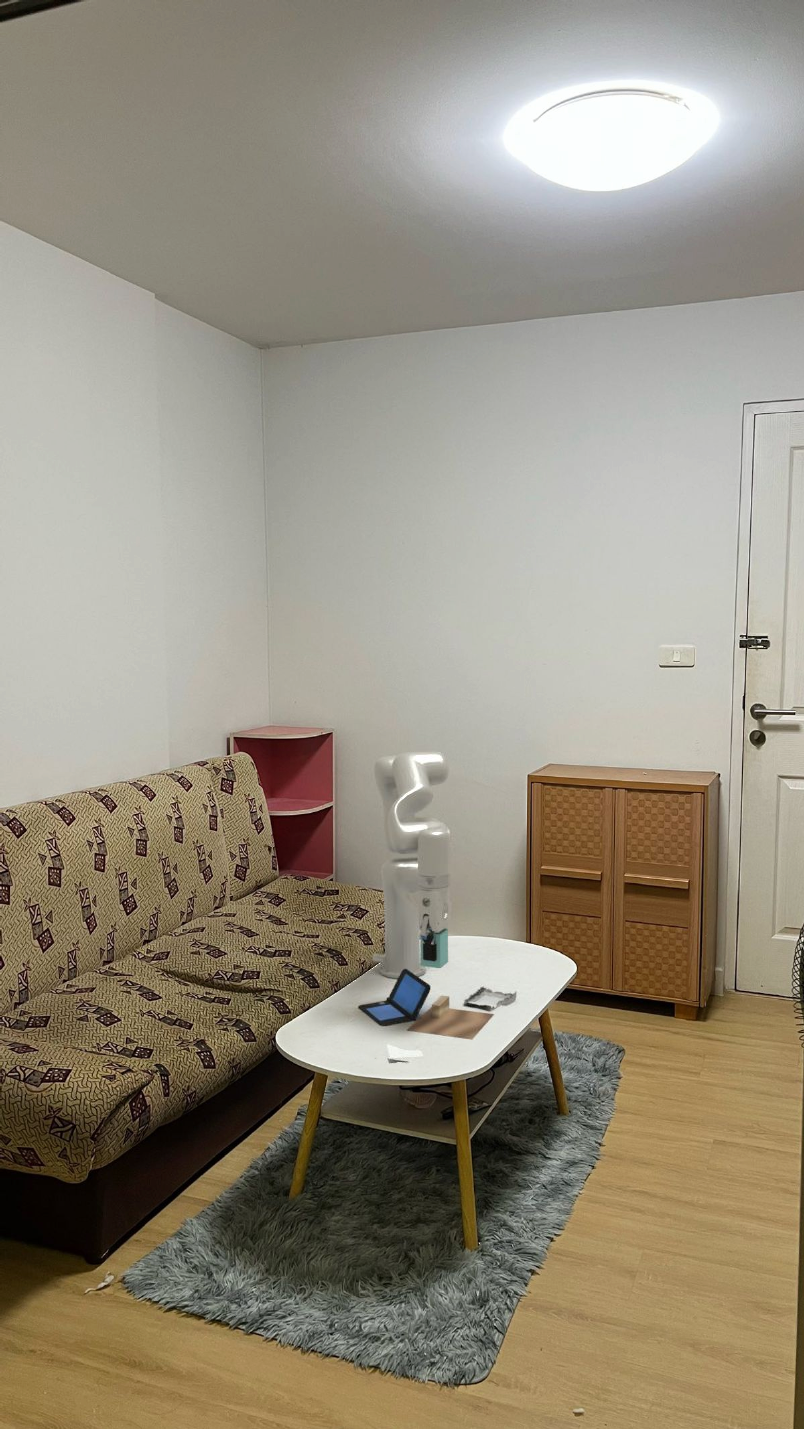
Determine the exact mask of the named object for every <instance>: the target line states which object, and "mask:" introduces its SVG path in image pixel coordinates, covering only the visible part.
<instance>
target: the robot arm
mask: <svg viewBox="0 0 804 1429" xmlns="http://www.w3.org/2000/svg"><path fill="white" fill-rule="evenodd" d="M449 769H450V768H449V764H448V760H447V758H446V756H445V755H444V753H442V752H440V751H434V750H433V751H432V750H431V751H428V750H427V751H407V752H402V753H400V754H397V755H396V754H395V755H387V756H386V755H385V756H382V757H380V758H378V759H376V762H375V764H374V772H373V773H374V780H375V784H376V787H377V790H378V791H379V795H380V797H381V801H382V805H383V806H382V807H383V832H384V843H385V847H386V849H387V850H388V851H389V852H390V853H391V852H392V853H396V854H400V855H416V854H417V857H416V856H415V857H413V856H411V857H395V858H391V859H390V858H389V859H388V860H386V861H385V862H384V863H383V864H382V866H381V868H380V879H381V885H382V892H383V900H384V901H383V902H384V950H385V951H384V952H385V953H383V954H381V953H372V957H371V958H372V962H373V963H375V964H376V963H377V964H378V963H379V964H380V965H381V966H380V967H379V973H380V974H381V975H382V976H384V977H388V978H392V979H398V978H399V976H400V974H401V972H402V970H403V969H407V970H409V971H410V972H412V973H413V974H415V975H416V976H417V977H421V976H423V975H424V974H425V973H426V971H427V969H426V968H427V967H426V966H421V951H420V936H421V937H422V943H423V959H424V960H428V961H436V960H437V944H435V937H436V933H439V932H440V931H442V930H443V929H447V927H448V926H449V925H451V923H452V918H453V916H452V900H451V892H450V887H451V872H450V871H451V865H450V864H451V862H450V859H451V857H450V855H451V854H450V852H451V851H450V849H451V847H450V846H451V845H450V842H451V831H450V829H449V828H448V826H447V825H446V824H445V823H444V822H442V821H439V820H438V819H437V818H435V817H432V816H421V817H420V816H419V817H417V816H416V814H418V813H420V812H422V811H424V810H425V809H426V808H428V807H430V804H431V803H432V801H433V798H434V793H433V790H432V787H431V786H437V785H441V784H444V783H446V781H447V779H448V778H449ZM415 893H419V899H418V900H419V901H418V904H417V902H416V901H415V900H414V899H413V898H412V896H411V895H410V894H415ZM428 928H431V929H432V931H430V930H428ZM428 933H432V938H431V936H430V935H428Z"/></svg>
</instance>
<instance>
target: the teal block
mask: <svg viewBox="0 0 804 1429" xmlns="http://www.w3.org/2000/svg"><path fill="white" fill-rule="evenodd" d="M428 930H430V931H432V929H431V928H428ZM428 935H430V936H431V938H432V933H428ZM435 944H437V960H436V961H428V960H424V959H423V943H422V937H421V936H420V963H421V966H425V968H433V969H434V968H436V969H442V968H443V967H444V966H445V965H447V963H448V962H449V929H448V928H445V929H443V930H442V931H440V932H439V933H436V937H435Z"/></svg>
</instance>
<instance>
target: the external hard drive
mask: <svg viewBox="0 0 804 1429" xmlns="http://www.w3.org/2000/svg"><path fill="white" fill-rule="evenodd" d="M386 1046H387V1052H388V1056H389V1058H387V1062H388V1064H398V1063H397V1062H402V1063H408V1060H401V1059H408V1058H421V1057H423V1058H424V1057H425V1056H424V1054H423V1052H422V1051H421V1050H420V1049H417V1050H415V1049H414V1050H410V1049H409V1050H407V1049H402V1048H400V1047H397V1046H393V1045H391V1044H390V1043H389V1044H388V1043H387V1044H386ZM399 1059H400V1060H399Z"/></svg>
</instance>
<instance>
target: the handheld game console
mask: <svg viewBox="0 0 804 1429" xmlns="http://www.w3.org/2000/svg"><path fill="white" fill-rule="evenodd" d="M430 992H431V985H430V984H429V983H428V982H426V981H424V979H422V978H420V976H418V977H417V976H416V975H415V974H413V973H412V972H410V971H409V970H407V969H403V970H402V972H401V974H400V976H399V978H397V980H396V982H395V984H394V986H393V988H392V990H391V992H390V993H389V996H387V997H386V1000H380V1001H376V1002H371V1003H365V1004H360V1005H358V1006H357V1009H359V1010H360V1011H361V1012H362V1013H363V1014H365V1015H366V1016H367V1017H369V1019H371V1020H372V1021H374V1023H376V1024H377V1025H378V1026H381V1027H388V1026H389V1027H390V1026H395V1025H400V1024H404V1023H405V1024H407V1023H411V1022H416V1021H417V1017H418V1016H419V1013H420V1012H421V1011H422V1008H423V1006H424V1004H425V1003H426V1000H427V998H428V996H429V994H430Z"/></svg>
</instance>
